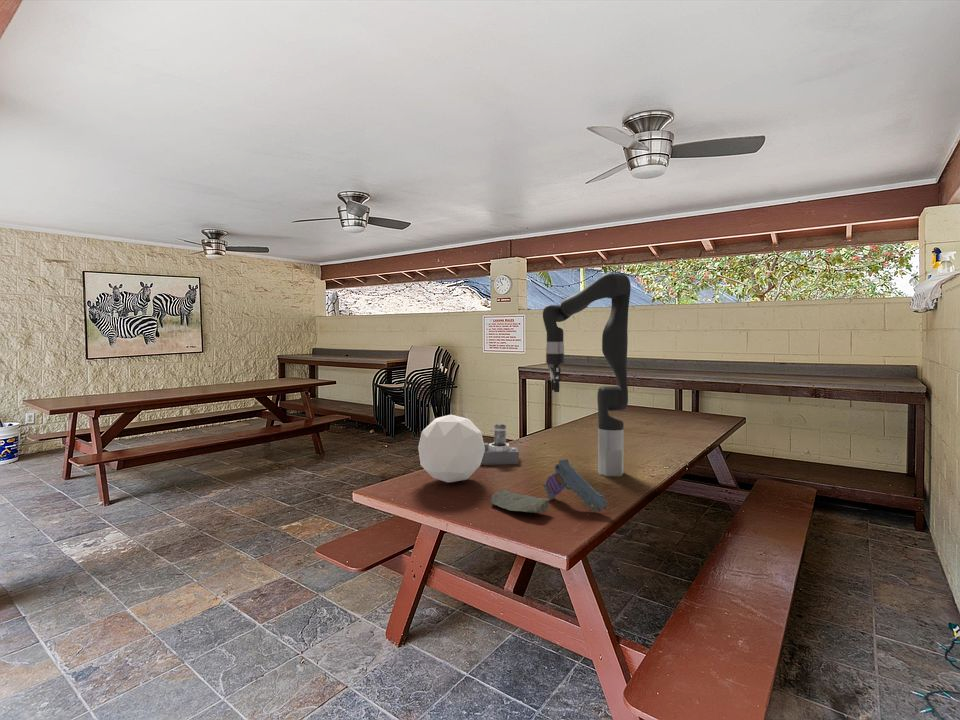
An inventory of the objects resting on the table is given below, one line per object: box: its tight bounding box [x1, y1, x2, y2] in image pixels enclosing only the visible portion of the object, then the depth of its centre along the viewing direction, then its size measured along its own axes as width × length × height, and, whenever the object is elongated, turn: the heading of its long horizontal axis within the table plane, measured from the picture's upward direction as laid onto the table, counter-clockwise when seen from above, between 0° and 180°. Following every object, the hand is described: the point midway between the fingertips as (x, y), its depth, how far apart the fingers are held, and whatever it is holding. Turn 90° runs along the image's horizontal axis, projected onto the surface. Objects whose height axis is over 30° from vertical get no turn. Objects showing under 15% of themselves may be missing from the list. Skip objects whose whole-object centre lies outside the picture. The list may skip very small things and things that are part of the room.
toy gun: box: [542, 458, 608, 512], centre depth 156 cm, size 4×21×15 cm
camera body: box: [480, 442, 520, 466], centre depth 209 cm, size 10×16×8 cm, turn 89°
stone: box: [490, 489, 550, 514], centre depth 154 cm, size 21×4×10 cm
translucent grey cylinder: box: [493, 423, 507, 446], centre depth 208 cm, size 5×5×10 cm
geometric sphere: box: [417, 414, 485, 483], centre depth 181 cm, size 24×25×25 cm
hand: (555, 391), depth 210 cm, fingers open, 8 cm apart
